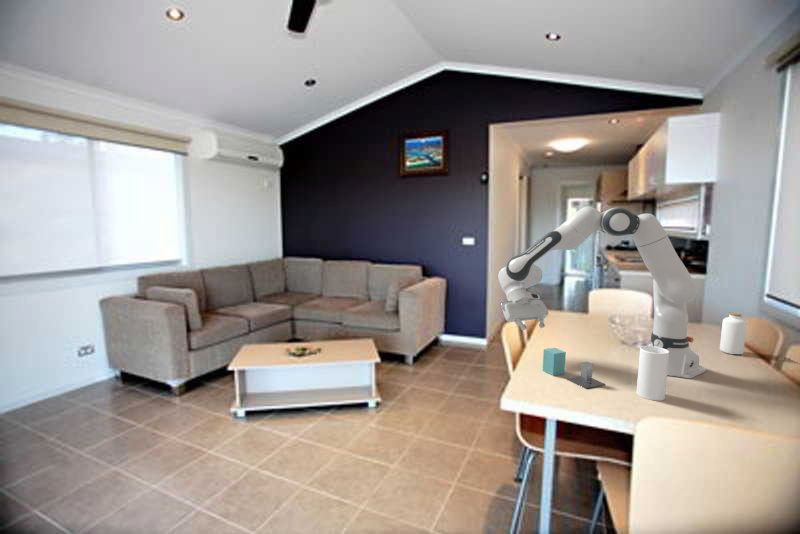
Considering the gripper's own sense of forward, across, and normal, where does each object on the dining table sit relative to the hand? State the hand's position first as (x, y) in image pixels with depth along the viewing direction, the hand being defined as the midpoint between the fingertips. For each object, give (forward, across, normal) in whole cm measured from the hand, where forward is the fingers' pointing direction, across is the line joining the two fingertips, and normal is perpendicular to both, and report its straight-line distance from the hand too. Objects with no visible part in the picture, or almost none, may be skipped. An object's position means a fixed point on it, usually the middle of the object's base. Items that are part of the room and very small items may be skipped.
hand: (533, 328), depth 167 cm
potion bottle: (+26, +93, -6) cm, 97 cm away
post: (+27, +4, -7) cm, 28 cm away
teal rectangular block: (+19, 0, +1) cm, 19 cm away
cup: (+39, +16, -18) cm, 46 cm away
